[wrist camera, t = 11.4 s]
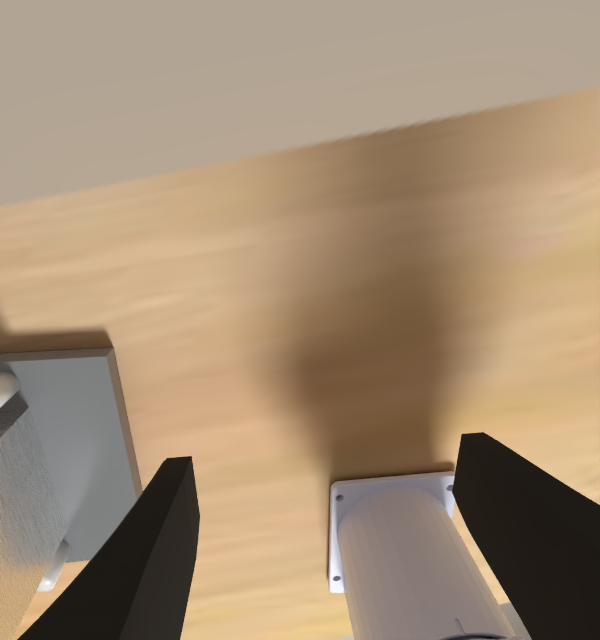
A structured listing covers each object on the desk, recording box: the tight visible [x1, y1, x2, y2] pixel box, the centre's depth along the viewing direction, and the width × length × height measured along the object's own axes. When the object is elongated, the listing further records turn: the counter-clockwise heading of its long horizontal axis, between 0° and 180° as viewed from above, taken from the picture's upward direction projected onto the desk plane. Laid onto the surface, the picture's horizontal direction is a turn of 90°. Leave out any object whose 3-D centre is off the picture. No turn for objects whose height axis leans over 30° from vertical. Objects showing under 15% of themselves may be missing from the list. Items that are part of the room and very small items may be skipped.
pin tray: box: [0, 347, 143, 592], centre depth 20 cm, size 13×12×3 cm
